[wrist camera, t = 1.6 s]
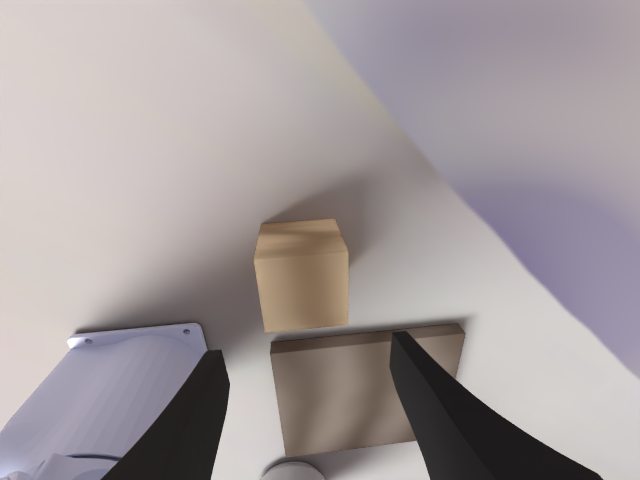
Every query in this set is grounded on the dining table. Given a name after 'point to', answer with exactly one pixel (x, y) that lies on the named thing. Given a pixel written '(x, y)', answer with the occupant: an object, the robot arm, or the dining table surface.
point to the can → (293, 472)
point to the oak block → (302, 275)
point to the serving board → (349, 388)
